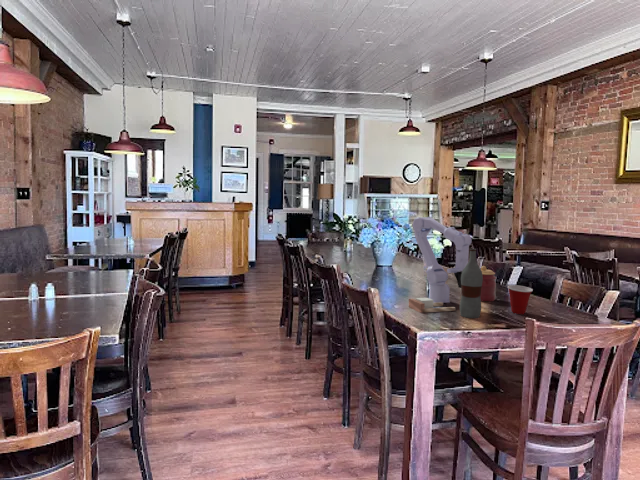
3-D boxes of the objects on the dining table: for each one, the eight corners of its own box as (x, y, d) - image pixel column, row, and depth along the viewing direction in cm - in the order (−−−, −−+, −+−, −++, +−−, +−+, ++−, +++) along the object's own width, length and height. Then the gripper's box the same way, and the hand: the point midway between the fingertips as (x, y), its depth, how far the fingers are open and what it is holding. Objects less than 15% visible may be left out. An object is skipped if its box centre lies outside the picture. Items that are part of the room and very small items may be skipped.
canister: (479, 302, 238) (481, 268, 236) (464, 297, 250) (465, 264, 249) (500, 301, 242) (502, 267, 241) (484, 296, 254) (486, 263, 253)
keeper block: (426, 307, 224) (426, 297, 224) (433, 310, 219) (433, 300, 218) (415, 308, 222) (415, 298, 222) (421, 311, 217) (422, 300, 216)
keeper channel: (441, 305, 230) (442, 297, 229) (454, 310, 219) (455, 302, 219) (408, 307, 225) (408, 298, 224) (420, 312, 214) (420, 303, 213)
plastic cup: (520, 316, 210) (521, 290, 209) (500, 311, 219) (502, 286, 218) (536, 314, 215) (538, 288, 214) (517, 309, 224) (518, 284, 223)
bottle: (485, 316, 209) (488, 249, 206) (474, 319, 203) (477, 250, 200) (466, 312, 216) (469, 247, 213) (455, 315, 210) (457, 248, 207)
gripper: (453, 260, 219) (452, 289, 221) (480, 260, 224) (478, 288, 225) (445, 258, 226) (444, 286, 227) (471, 258, 230) (469, 285, 232)
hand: (460, 287), depth 227 cm, fingers closed
